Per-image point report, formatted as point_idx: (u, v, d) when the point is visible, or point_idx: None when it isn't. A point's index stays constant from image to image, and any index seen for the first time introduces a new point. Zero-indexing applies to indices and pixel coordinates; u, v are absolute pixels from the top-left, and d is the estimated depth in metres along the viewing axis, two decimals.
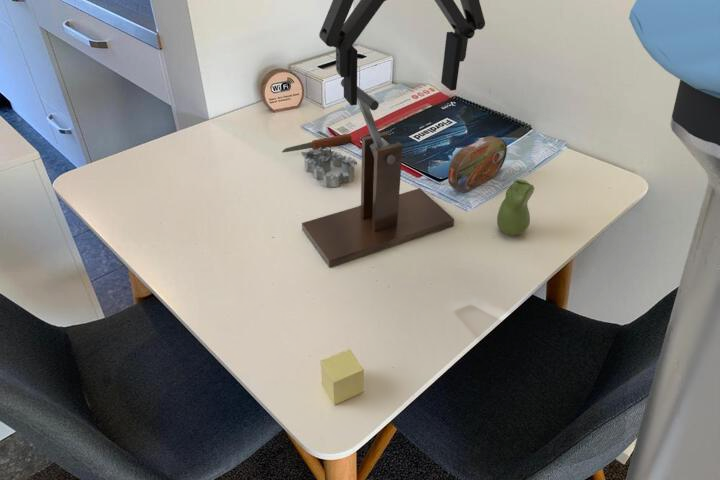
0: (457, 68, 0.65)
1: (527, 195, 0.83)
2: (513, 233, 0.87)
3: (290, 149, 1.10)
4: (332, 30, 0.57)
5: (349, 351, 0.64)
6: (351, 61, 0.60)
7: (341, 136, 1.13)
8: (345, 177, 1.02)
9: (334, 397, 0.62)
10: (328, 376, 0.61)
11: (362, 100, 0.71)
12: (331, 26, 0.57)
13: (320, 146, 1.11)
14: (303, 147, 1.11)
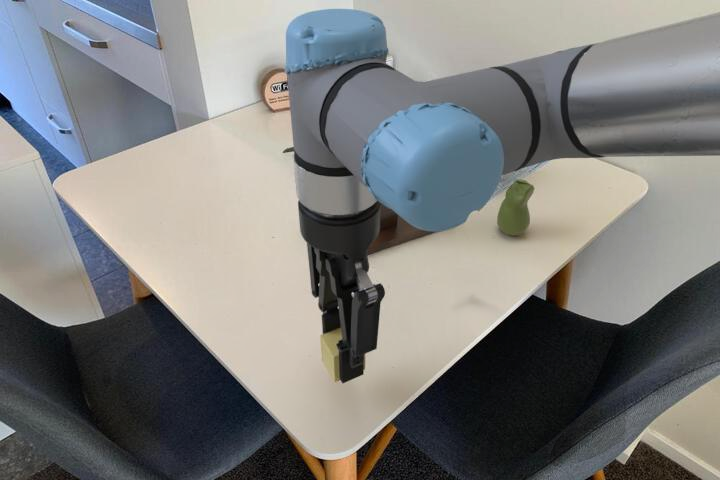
0: (341, 366, 0.58)
1: (527, 195, 0.83)
2: (513, 233, 0.87)
3: (291, 149, 1.09)
4: (312, 284, 0.59)
5: None
6: (323, 322, 0.59)
7: None
8: None
9: (335, 373, 0.59)
10: (328, 351, 0.58)
11: None
12: (311, 280, 0.59)
13: None
14: None
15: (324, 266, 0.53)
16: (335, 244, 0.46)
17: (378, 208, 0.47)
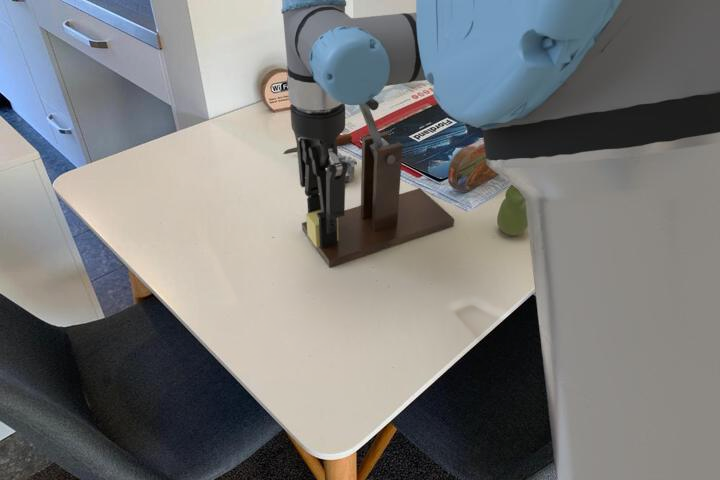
0: (320, 233, 0.82)
1: None
2: (513, 233, 0.87)
3: (291, 150, 1.09)
4: (300, 177, 0.83)
5: None
6: (308, 204, 0.84)
7: (341, 136, 1.12)
8: (345, 177, 1.02)
9: (316, 240, 0.83)
10: (311, 223, 0.82)
11: None
12: (300, 174, 0.83)
13: None
14: None
15: (308, 156, 0.77)
16: (314, 132, 0.70)
17: (343, 110, 0.70)
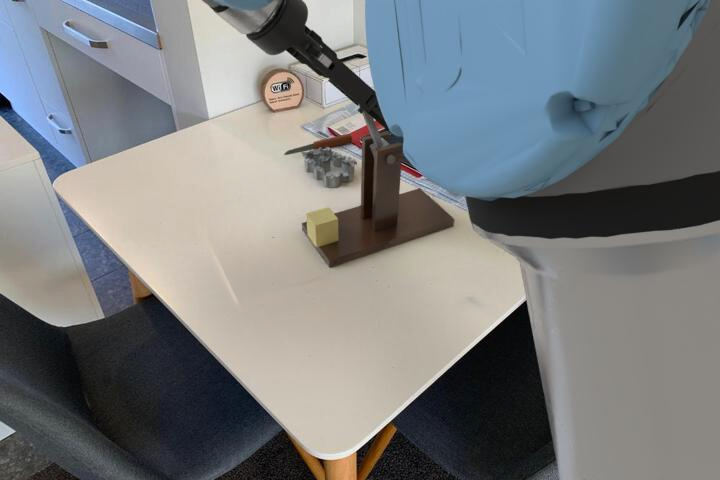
0: None
1: None
2: None
3: (292, 151, 1.09)
4: None
5: (328, 208, 0.85)
6: None
7: (342, 136, 1.12)
8: (345, 177, 1.02)
9: (316, 240, 0.83)
10: (311, 223, 0.82)
11: None
12: None
13: (322, 147, 1.11)
14: (305, 149, 1.10)
15: None
16: (279, 44, 0.61)
17: None
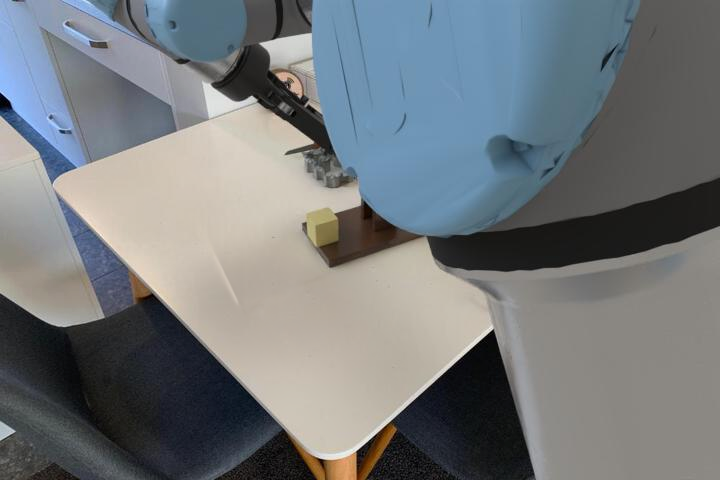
0: None
1: None
2: None
3: (292, 151, 1.09)
4: None
5: (328, 208, 0.85)
6: None
7: None
8: (345, 177, 1.02)
9: (316, 240, 0.83)
10: (311, 223, 0.82)
11: None
12: None
13: None
14: (305, 149, 1.10)
15: None
16: (241, 93, 0.62)
17: (250, 49, 0.60)
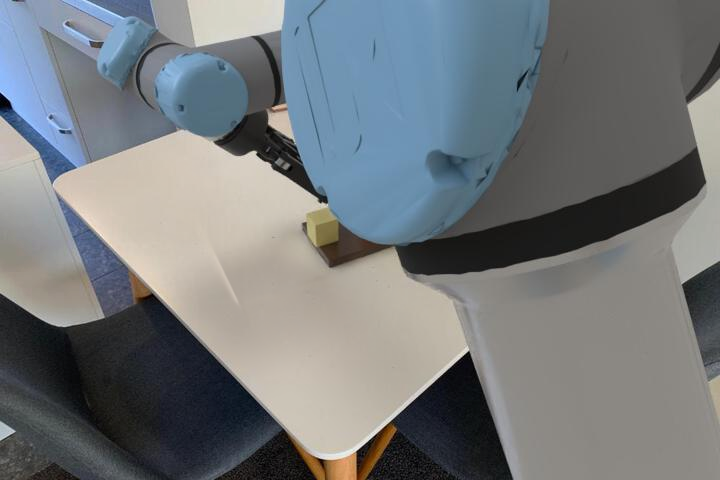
0: None
1: None
2: None
3: None
4: None
5: (328, 208, 0.85)
6: None
7: None
8: None
9: (316, 240, 0.83)
10: (311, 223, 0.82)
11: None
12: None
13: None
14: None
15: None
16: (241, 149, 0.66)
17: None
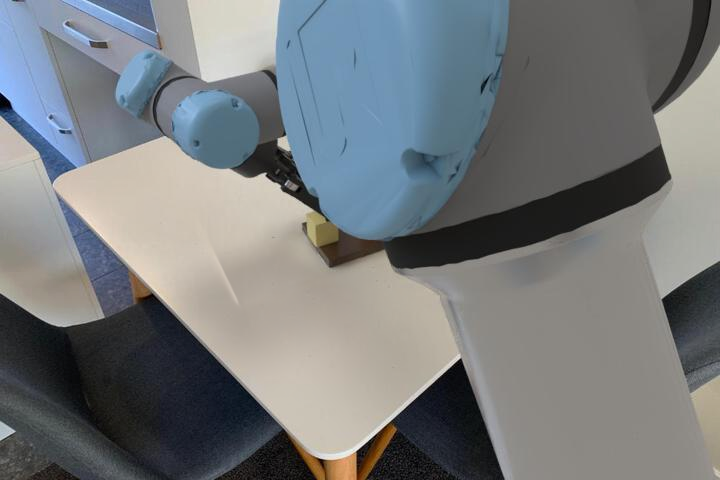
0: None
1: None
2: None
3: None
4: None
5: None
6: None
7: None
8: None
9: (316, 240, 0.83)
10: (311, 223, 0.82)
11: None
12: None
13: None
14: None
15: None
16: (251, 172, 0.69)
17: None
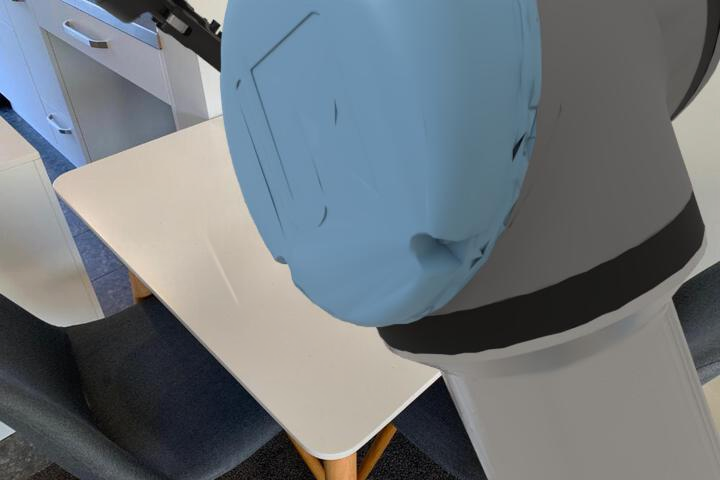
0: None
1: None
2: None
3: None
4: None
5: None
6: None
7: None
8: None
9: None
10: None
11: None
12: None
13: None
14: None
15: None
16: (129, 9, 0.51)
17: None
